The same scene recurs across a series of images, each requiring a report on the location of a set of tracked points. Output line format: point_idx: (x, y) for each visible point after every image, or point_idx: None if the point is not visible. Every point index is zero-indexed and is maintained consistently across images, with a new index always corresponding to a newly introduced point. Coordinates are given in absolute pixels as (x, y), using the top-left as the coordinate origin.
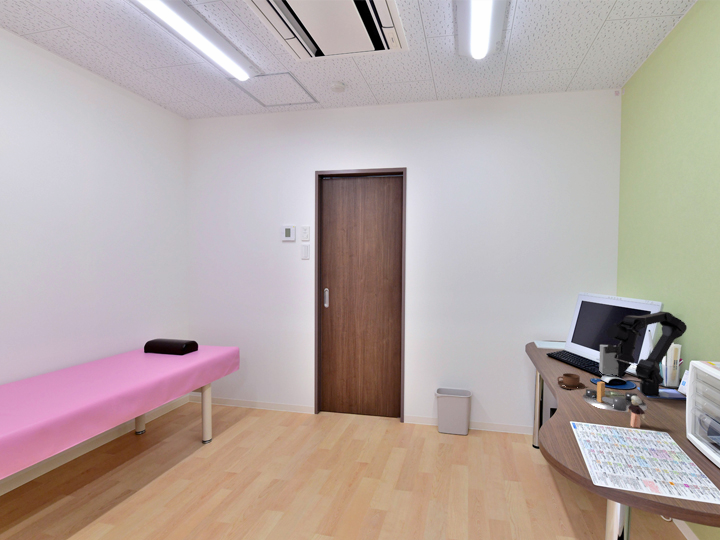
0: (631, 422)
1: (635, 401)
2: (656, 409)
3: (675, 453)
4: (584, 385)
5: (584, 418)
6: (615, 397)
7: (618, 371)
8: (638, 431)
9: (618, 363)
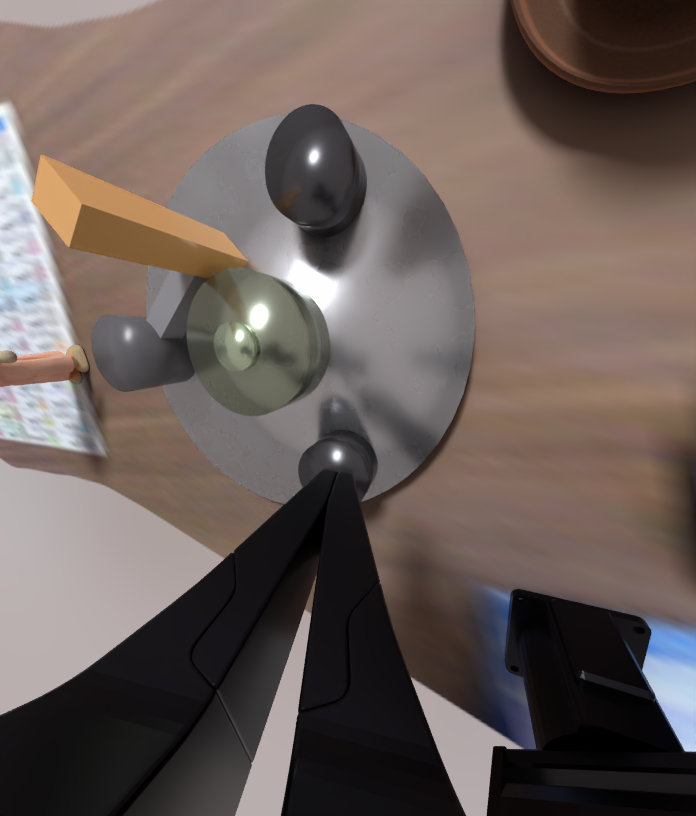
0: (33, 354)
1: None
2: None
3: (15, 419)
4: (686, 74)
5: None
6: (122, 332)
7: (277, 512)
8: None
9: (28, 706)
